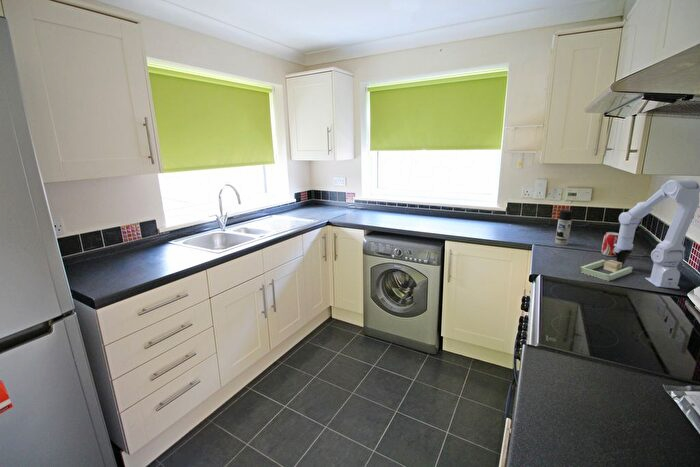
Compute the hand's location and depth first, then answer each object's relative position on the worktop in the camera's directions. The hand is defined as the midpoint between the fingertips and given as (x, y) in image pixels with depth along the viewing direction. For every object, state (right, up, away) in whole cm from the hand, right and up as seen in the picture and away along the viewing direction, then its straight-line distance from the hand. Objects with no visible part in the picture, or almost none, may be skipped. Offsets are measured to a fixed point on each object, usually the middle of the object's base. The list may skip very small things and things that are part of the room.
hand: (620, 264), depth 166 cm
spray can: (-5, +9, +38) cm, 40 cm away
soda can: (+8, +3, +18) cm, 20 cm away
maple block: (-6, -3, -3) cm, 8 cm away
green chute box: (-13, -3, -7) cm, 15 cm away
